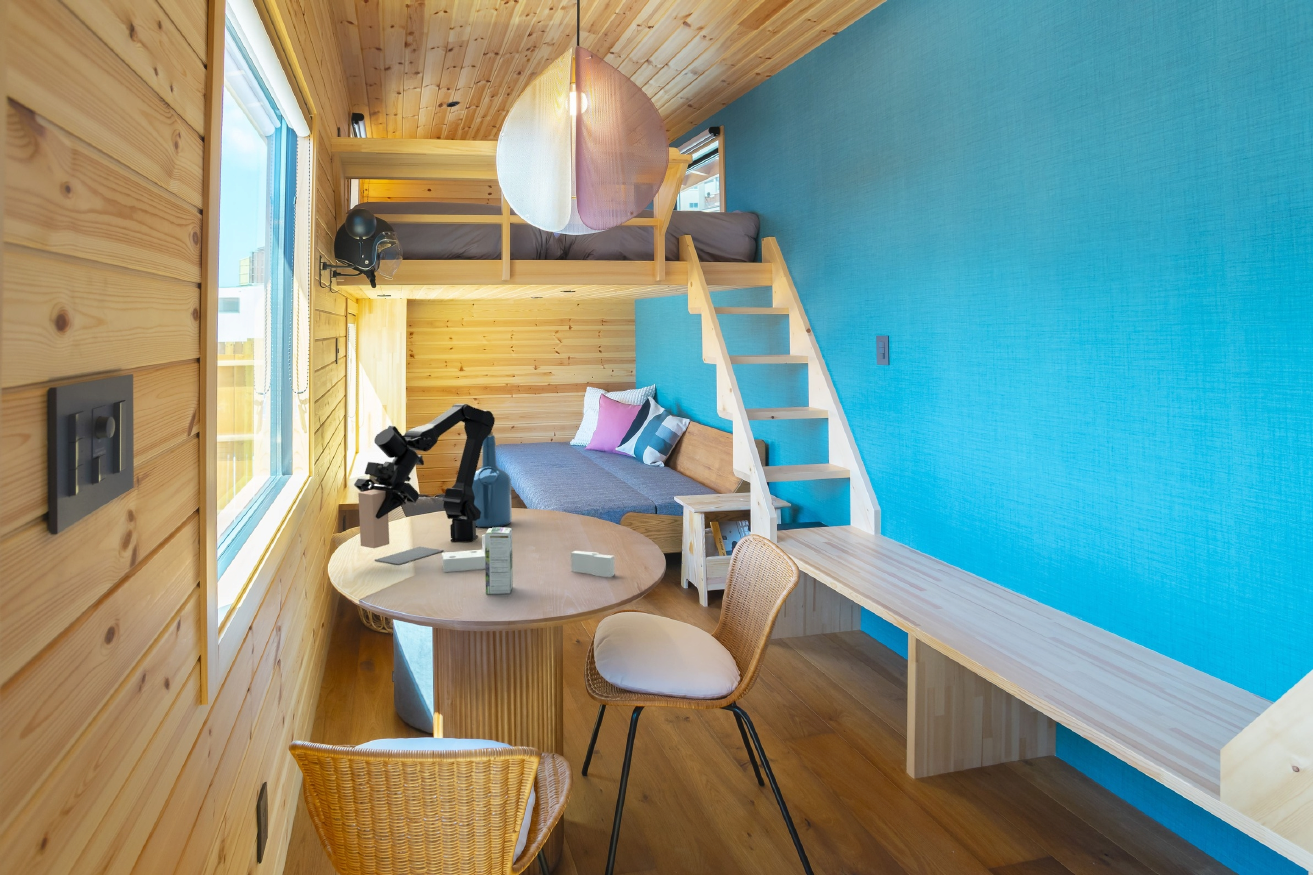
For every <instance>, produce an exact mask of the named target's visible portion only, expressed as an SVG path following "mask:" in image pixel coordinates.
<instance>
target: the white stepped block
mask: <svg viewBox="0 0 1313 875" xmlns="http://www.w3.org/2000/svg"><path fill="white" fill-rule="evenodd" d="M570 553H571V554H570V560H571V565H570V567H571V568H570V569H571V572H574V573H582V574H589V575H592V576H597V577H604V578H605V577H606V578H613V576H615V555H609V554H601V553H600V552H595V551H594V552H592V551H583V550H574V551H572V552H570Z"/></svg>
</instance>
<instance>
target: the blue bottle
mask: <svg viewBox="0 0 1313 875" xmlns="http://www.w3.org/2000/svg"><path fill="white" fill-rule="evenodd" d="M493 433H494V431H491V433H490V434H489V435H488V437H487V438H486V439H485V440H484V441H483V445H482V449H481V453H482V455H481V456H482V457H481V460H482V463H481V467H480V468H479V469H476V473H475V477H474V481H473V485H472V489H473V493H474V496H475V500H474V505H475V506H476V507H477V508H478V509H479V510H480V511H481V515H480V519H477V520H476V526H477V527H476V528H482V527H492V528H496V527H503V526H507V525H509V524H511V522H512V520H513V519H512V517H513V515H512V512H513V511H512V510H513V509H512V482H511V481H512V480H511V479H512V478H511V477H510V475H509V473H507V472H506V471H505V470H503V469H501V468H499V467H498V465H497V454H496V453H497V452H496V446H497V445H496V437H495V435H494V434H493Z"/></svg>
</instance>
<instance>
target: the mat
mask: <svg viewBox="0 0 1313 875" xmlns="http://www.w3.org/2000/svg"><path fill="white" fill-rule="evenodd" d="M439 553H444V549H438V548H432V547H425V546H417V547H413V548H410V549H406V550H404V551H400V552H397V553H396V552H395V553H392V554H390V555H386V556H383V557H379V558H375V559H374V561H375V562H380V563H386V564H391V565H395V564H397V565H396V566H401V565H404V564H407V563H410V562H409V561H411V562H414V561H417V560H420V559H423V558H425V557H426V556H427V557H429V555H430V556H433V555H436V554H439ZM416 559H417V560H416ZM413 560H414V561H413ZM400 564H401V565H400Z"/></svg>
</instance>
